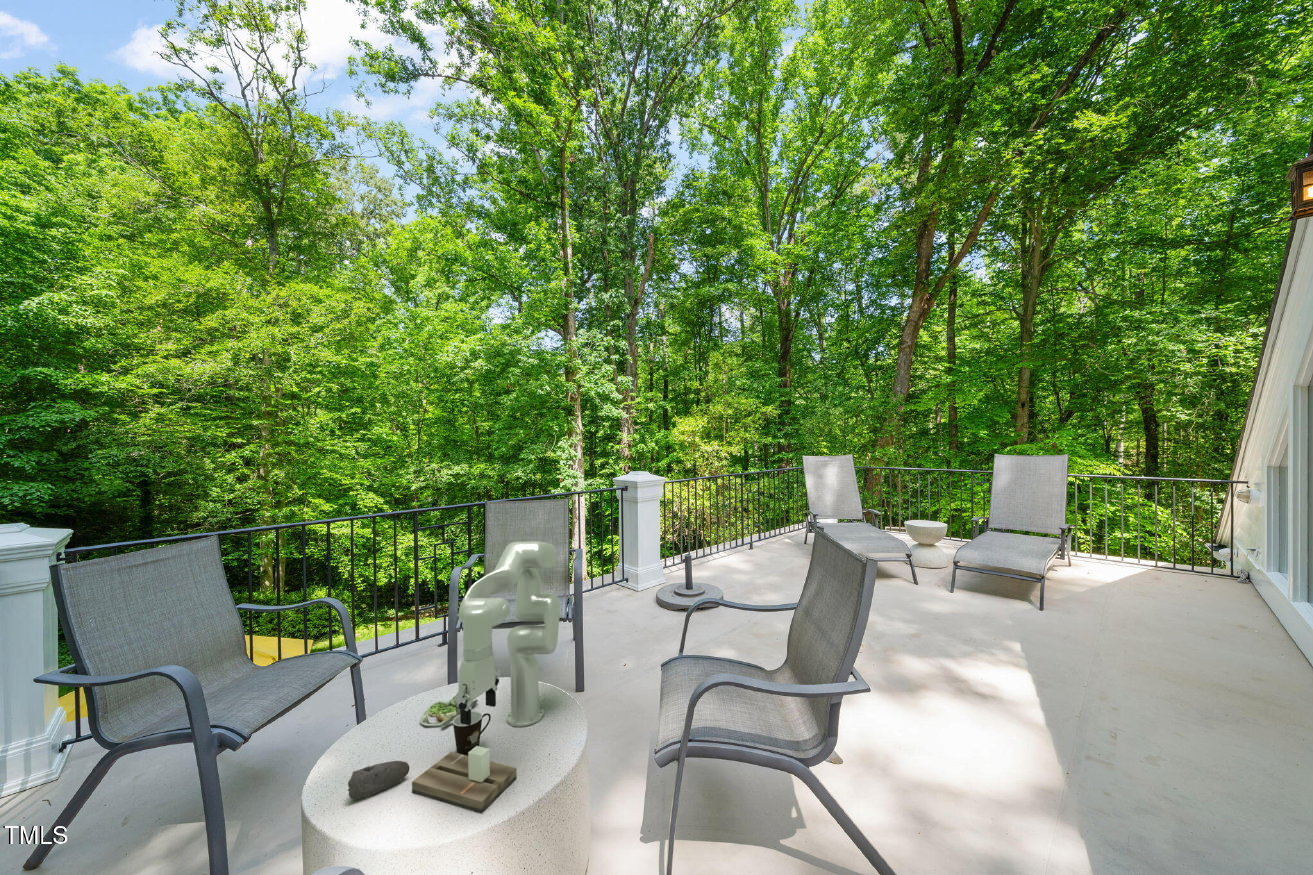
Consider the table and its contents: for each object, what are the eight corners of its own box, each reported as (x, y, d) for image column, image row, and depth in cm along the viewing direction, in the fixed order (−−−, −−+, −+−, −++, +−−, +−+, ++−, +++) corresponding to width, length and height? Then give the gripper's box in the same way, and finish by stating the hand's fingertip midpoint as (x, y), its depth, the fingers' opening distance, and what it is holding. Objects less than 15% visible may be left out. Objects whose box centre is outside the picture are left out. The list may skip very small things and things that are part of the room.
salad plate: (467, 729, 160) (467, 715, 160) (411, 735, 157) (411, 721, 158) (480, 701, 179) (479, 688, 179) (430, 706, 177) (430, 693, 177)
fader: (476, 777, 132) (476, 745, 132) (489, 780, 130) (489, 748, 131) (468, 784, 129) (468, 752, 129) (481, 788, 127) (481, 755, 128)
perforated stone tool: (408, 773, 137) (408, 749, 138) (411, 783, 133) (411, 758, 133) (347, 796, 128) (347, 770, 129) (347, 807, 124) (347, 780, 125)
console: (451, 761, 142) (451, 750, 142) (516, 778, 133) (516, 767, 133) (412, 792, 129) (412, 780, 129) (481, 813, 120) (481, 800, 120)
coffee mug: (454, 763, 141) (454, 729, 142) (452, 748, 149) (451, 715, 149) (494, 751, 147) (494, 718, 147) (490, 737, 154) (490, 706, 155)
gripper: (488, 639, 141) (489, 697, 140) (443, 662, 125) (444, 729, 124) (509, 641, 138) (510, 701, 137) (465, 666, 122) (466, 734, 121)
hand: (478, 714), depth 131 cm, fingers open, 9 cm apart
